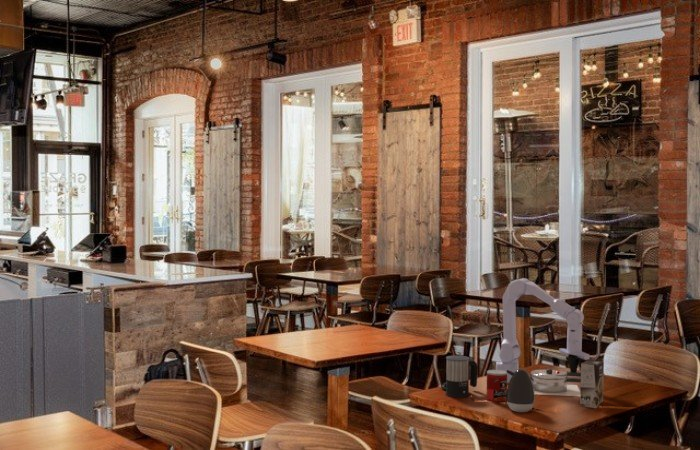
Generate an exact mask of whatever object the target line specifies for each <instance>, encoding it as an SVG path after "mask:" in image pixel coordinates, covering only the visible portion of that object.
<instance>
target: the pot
mask: <svg viewBox="0 0 700 450" xmlns="http://www.w3.org/2000/svg"><path fill="white" fill-rule="evenodd" d="M529 376H530V378H531V381H532V384H533V388H534V391H538V392H543V393H563V392H566V391H567V385H568V383H580V384H581V377H577V376H568V377H567V378H564V379H543V378H538V377H534V376H532V375H531V374H529Z"/></svg>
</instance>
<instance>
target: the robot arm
mask: <svg viewBox="0 0 700 450" xmlns="http://www.w3.org/2000/svg"><path fill="white" fill-rule="evenodd" d="M523 295H528V296H529V295H530V296H535V297H536V298H538V299H540V300H541V301H543V302H544V303H546V304H547V305H549V306H550V310H551V311H552V312H554V314H557V315H558V316H560V317H561V318H562V319H564V320H565V321H566V324H567V328H566V329H567V332H566V333H567V334H566V336H567V337H566V348H558V349H559V350H558V351H559V352H558V353H559V354H562V355H567V356H565V359H566V361H567V364H568V366H569V371H574V372H578V368H579V365H580V363H581V361H582V360H585V361H587V360H590V354H589V353H586V352H584V351H582V349H583V346H582V345H583V344H582V343H583V322H584V320H585V315H584V313H583V312H582V310H580V309H576V308H575V306H572V305H570V304H568V303H567V302H566V300H565V299H564V298H555V297H553V296H552V295H550V294H549V293H548V292H546V290H544V289H543V288H541V287H540V286H539V285H537V284H536V283H535V282H533V281H531V280H529V278H525V277H522V278H519V279H514V280H513V281H511V282H510V283H508V284H507V287H506V289H505V291H504V293H503V295H502V321H503V322H502V326H503V327H502V328H503V329H502V330H503V331H502V334H503V340H502V342H501V344H500V347H501V349H500V351H499V353H498V354H499V355H498V356H499V359H500V361H495V362H496V365H495V370H503V371H507V370H509V371H512V372H515V371H516V370H518V369H520V368H519V365H520V364H519V363H520V362H519V358H520V357H521V353H522V351H521V349H520V346H519V341H518V339H517V313H516V310H517V308H516V307H517V306H516V301H517V300H518V299H520V297H521V296H523ZM511 377H512V376H511V375H510V374H508V373H507V384H509V382H510V379H511Z"/></svg>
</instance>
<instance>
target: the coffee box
mask: <svg viewBox="0 0 700 450" xmlns="http://www.w3.org/2000/svg"><path fill="white" fill-rule="evenodd" d="M580 363H581V364H580V372H581V377H580V378H581V383H580V389H579V390H580V396H579V404H580V405H581V407H583V408H591V409H597V408H599V407H600V406H601V403H603V402H604V373H605V372H604V365H605V364H604V363H605V362H604V361H603V360H602V361H601V360H590V359H586V360H585V361H583V362H580Z"/></svg>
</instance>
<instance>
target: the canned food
mask: <svg viewBox="0 0 700 450" xmlns="http://www.w3.org/2000/svg"><path fill="white" fill-rule="evenodd" d="M507 389H508V383H507V372H506V371H503V370H496V369H489V370H487V371H486V400H487V401H488V402H490V403H496V404H500V403H501V404H502V403H505V402H506V395H507Z"/></svg>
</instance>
